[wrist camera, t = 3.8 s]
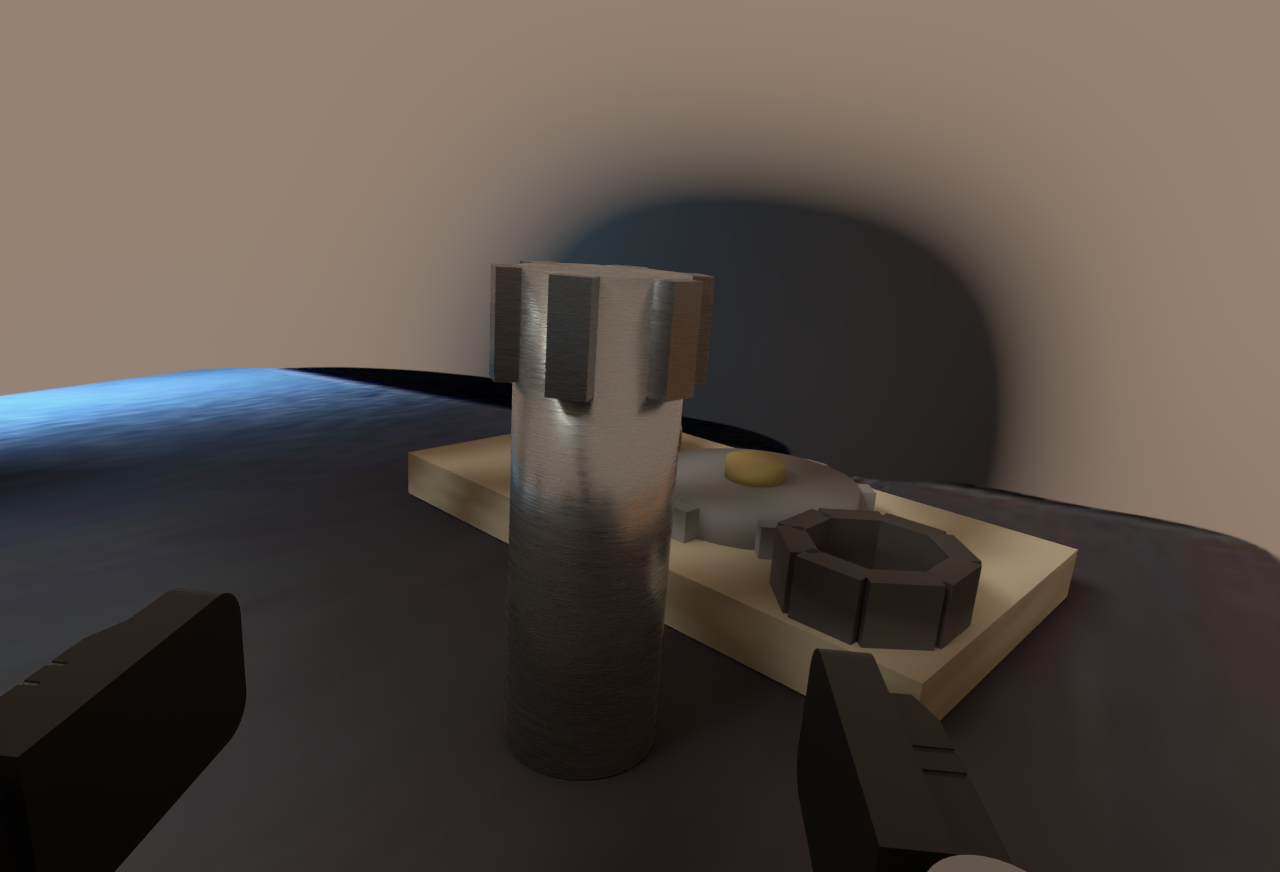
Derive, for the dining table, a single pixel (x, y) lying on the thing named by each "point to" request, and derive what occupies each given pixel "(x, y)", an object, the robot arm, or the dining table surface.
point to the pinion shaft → (591, 499)
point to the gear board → (810, 565)
